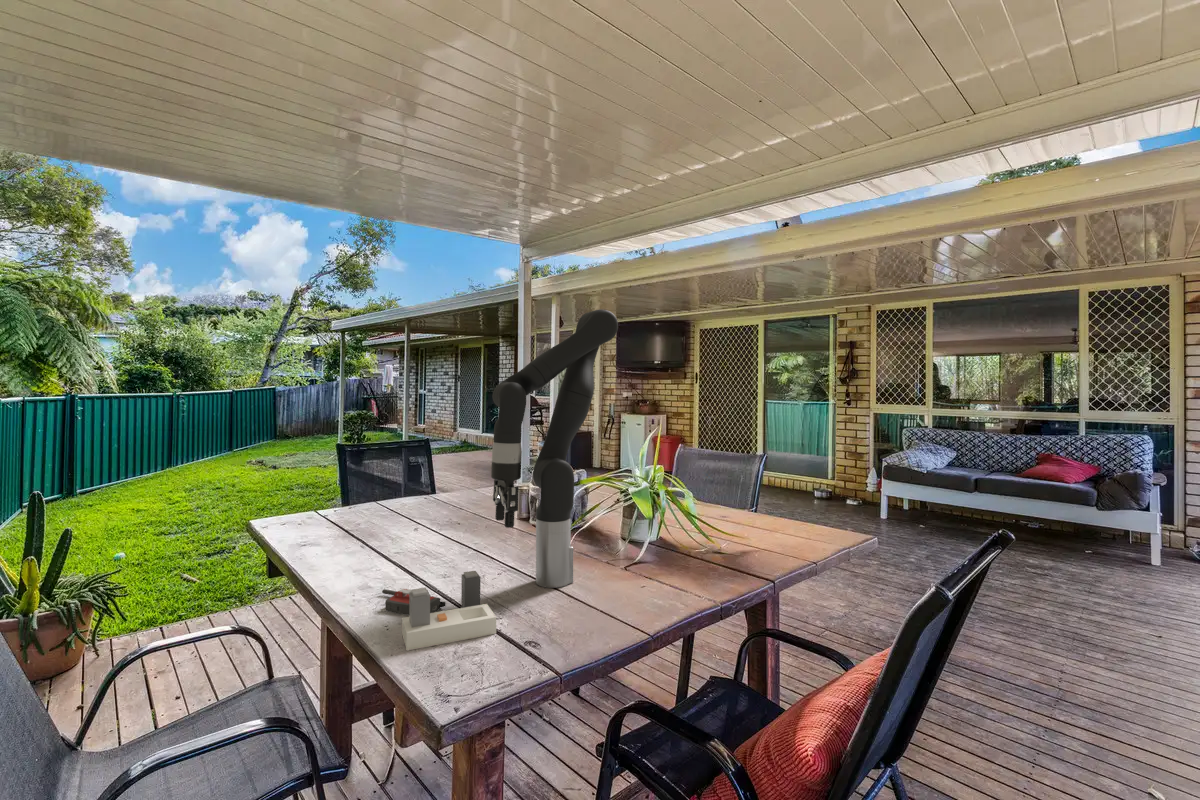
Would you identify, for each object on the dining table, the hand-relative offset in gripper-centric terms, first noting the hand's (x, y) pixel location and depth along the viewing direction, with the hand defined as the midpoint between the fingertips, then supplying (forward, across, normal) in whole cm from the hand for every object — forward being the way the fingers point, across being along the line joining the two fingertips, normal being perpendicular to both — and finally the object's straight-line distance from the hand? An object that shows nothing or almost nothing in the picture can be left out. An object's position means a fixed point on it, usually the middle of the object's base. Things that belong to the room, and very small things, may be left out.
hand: (504, 523), depth 142 cm
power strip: (+18, -20, +17) cm, 31 cm away
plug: (+18, -9, +10) cm, 22 cm away
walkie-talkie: (+19, 0, +23) cm, 30 cm away
